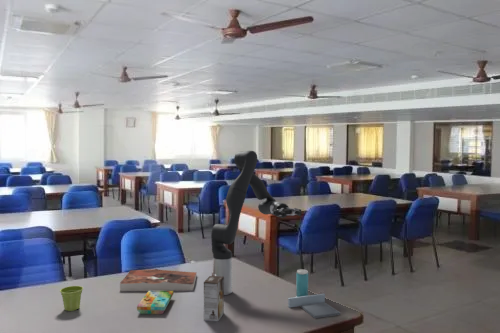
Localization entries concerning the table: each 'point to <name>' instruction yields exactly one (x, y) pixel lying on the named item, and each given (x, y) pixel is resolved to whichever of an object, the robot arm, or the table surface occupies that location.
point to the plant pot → (71, 297)
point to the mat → (320, 310)
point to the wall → (306, 300)
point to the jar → (301, 283)
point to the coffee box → (213, 298)
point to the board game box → (158, 280)
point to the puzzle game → (154, 302)
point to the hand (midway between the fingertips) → (292, 214)
